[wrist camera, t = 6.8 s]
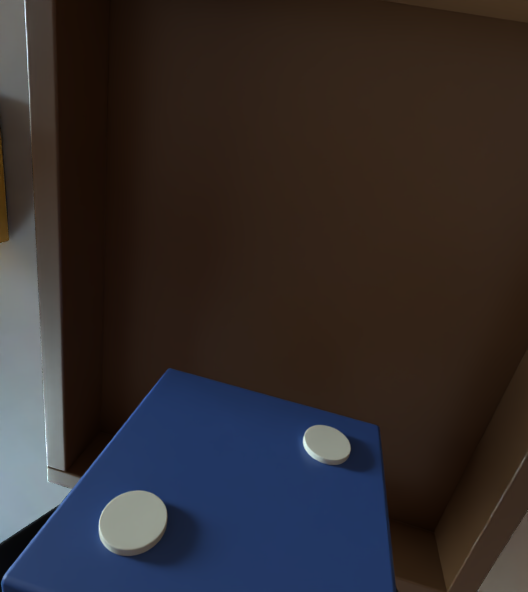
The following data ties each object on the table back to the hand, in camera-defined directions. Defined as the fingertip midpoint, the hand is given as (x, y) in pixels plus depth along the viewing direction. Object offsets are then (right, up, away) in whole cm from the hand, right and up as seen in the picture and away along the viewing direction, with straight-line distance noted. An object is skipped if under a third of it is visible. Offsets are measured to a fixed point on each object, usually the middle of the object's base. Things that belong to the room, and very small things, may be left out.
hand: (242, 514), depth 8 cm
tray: (+2, +5, +4) cm, 6 cm away
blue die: (0, 0, +1) cm, 1 cm away
